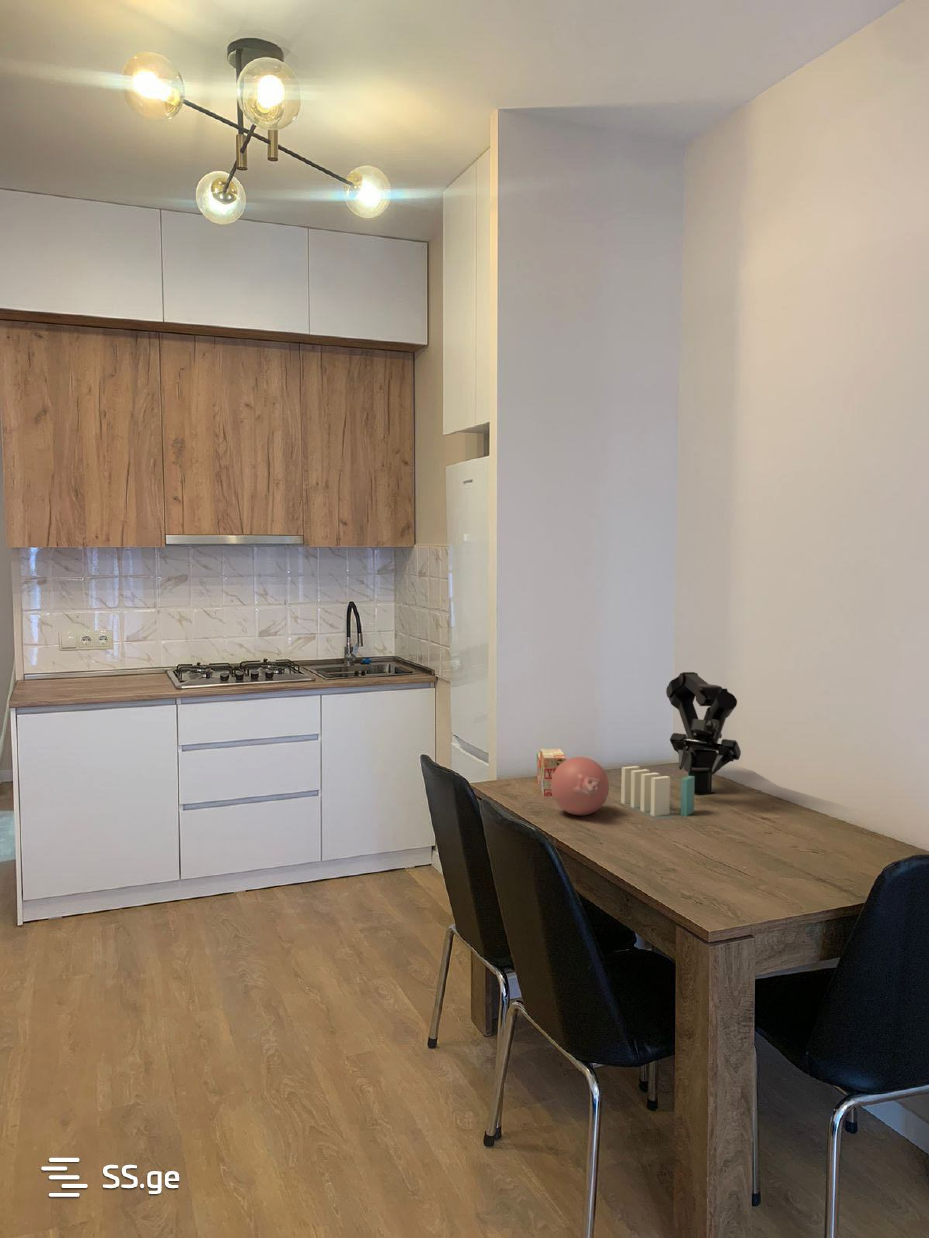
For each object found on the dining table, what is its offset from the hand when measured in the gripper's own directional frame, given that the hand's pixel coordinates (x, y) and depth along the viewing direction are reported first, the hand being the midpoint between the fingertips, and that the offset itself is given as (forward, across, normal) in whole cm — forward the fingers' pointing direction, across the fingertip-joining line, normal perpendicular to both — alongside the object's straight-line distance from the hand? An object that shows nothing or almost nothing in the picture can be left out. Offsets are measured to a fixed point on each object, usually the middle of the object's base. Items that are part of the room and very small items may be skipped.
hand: (696, 771), depth 252 cm
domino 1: (+10, -17, +5) cm, 21 cm away
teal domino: (+11, 0, +4) cm, 12 cm away
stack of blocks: (+11, -43, +5) cm, 45 cm away
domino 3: (+14, -10, +2) cm, 17 cm away
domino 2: (+12, -13, +3) cm, 18 cm away
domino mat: (+12, -13, +3) cm, 18 cm away
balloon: (+25, -22, -10) cm, 35 cm away
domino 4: (+15, -6, 0) cm, 16 cm away
